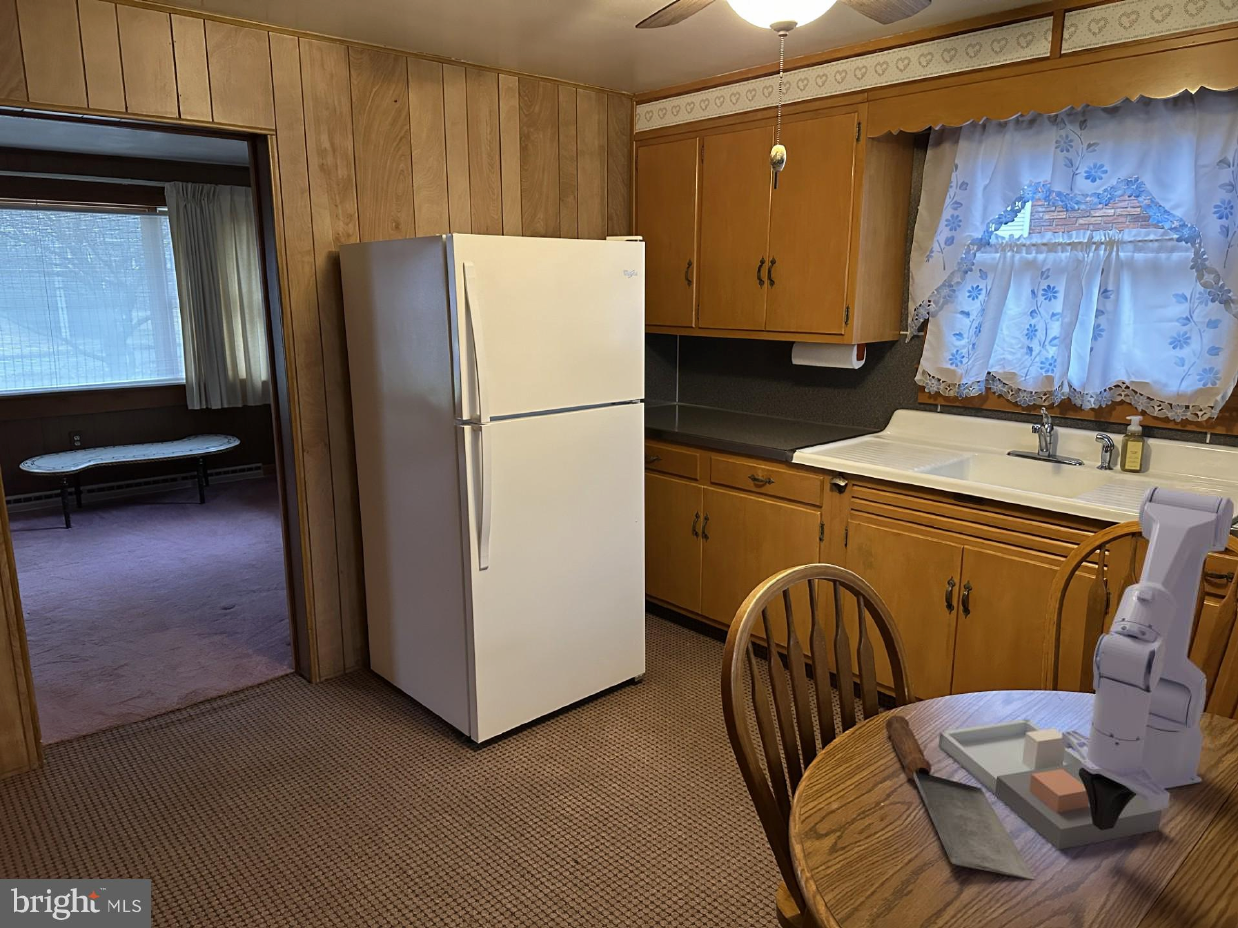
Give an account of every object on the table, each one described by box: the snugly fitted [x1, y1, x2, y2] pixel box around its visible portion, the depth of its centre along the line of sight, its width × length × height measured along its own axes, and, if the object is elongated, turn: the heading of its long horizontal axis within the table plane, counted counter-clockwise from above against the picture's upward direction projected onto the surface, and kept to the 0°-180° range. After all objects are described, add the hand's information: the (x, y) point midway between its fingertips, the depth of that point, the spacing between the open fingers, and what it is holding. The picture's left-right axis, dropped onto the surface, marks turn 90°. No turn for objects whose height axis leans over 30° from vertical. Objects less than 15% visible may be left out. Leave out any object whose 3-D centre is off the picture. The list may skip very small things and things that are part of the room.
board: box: [994, 762, 1163, 850], centre depth 115 cm, size 16×12×3 cm
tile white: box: [1022, 728, 1065, 770], centre depth 125 cm, size 5×5×2 cm
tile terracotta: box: [1029, 769, 1089, 812], centre depth 113 cm, size 5×5×2 cm
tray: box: [938, 718, 1083, 796], centre depth 127 cm, size 16×13×2 cm
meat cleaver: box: [884, 715, 1037, 881], centre depth 119 cm, size 34×11×4 cm, turn 177°
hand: (1103, 825), depth 106 cm, fingers closed
